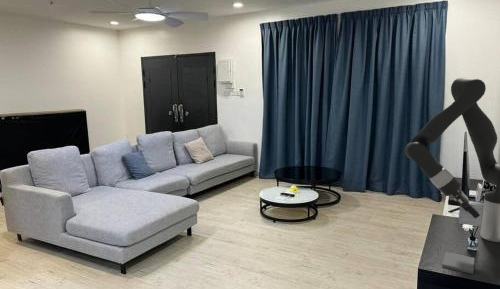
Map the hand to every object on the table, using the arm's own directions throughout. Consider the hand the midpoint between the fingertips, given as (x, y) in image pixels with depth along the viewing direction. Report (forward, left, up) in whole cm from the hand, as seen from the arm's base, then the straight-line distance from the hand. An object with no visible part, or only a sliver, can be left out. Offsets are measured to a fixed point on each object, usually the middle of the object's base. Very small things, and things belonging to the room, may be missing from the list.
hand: (476, 214), depth 142 cm
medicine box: (0, -2, -4) cm, 5 cm away
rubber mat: (+8, -8, -17) cm, 21 cm away
